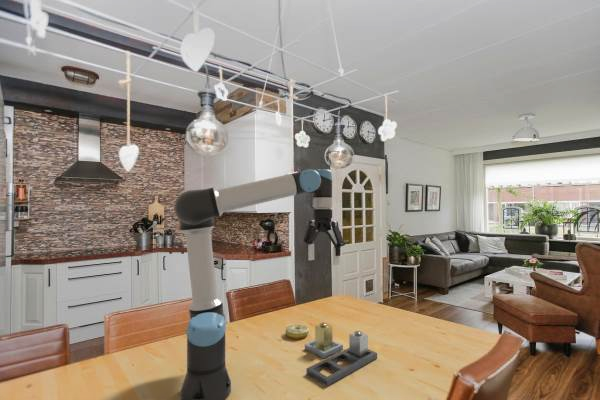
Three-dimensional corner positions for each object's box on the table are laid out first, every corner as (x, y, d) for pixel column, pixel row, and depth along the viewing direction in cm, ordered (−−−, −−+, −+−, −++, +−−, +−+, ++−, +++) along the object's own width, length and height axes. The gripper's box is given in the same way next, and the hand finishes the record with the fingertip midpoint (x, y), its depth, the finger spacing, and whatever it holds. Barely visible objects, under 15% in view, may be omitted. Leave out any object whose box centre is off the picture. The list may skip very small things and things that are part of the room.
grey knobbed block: (360, 362, 116) (359, 336, 116) (349, 357, 120) (349, 332, 120) (367, 358, 120) (367, 332, 120) (357, 353, 123) (357, 328, 124)
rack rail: (327, 386, 101) (327, 380, 101) (306, 374, 108) (306, 368, 108) (377, 358, 119) (377, 352, 119) (356, 349, 127) (356, 344, 127)
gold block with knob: (324, 352, 123) (323, 327, 124) (315, 347, 127) (315, 323, 127) (332, 348, 127) (332, 324, 127) (323, 344, 130) (323, 320, 131)
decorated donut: (312, 333, 144) (312, 325, 144) (301, 342, 134) (301, 333, 134) (293, 329, 149) (293, 321, 149) (281, 337, 140) (281, 328, 140)
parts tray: (324, 358, 119) (324, 353, 119) (304, 348, 127) (304, 344, 127) (342, 349, 126) (342, 344, 127) (323, 341, 135) (323, 336, 135)
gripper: (353, 208, 116) (354, 265, 115) (308, 208, 134) (308, 257, 134) (340, 208, 111) (341, 268, 110) (295, 208, 129) (295, 259, 129)
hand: (323, 262), depth 122 cm, fingers open, 13 cm apart
